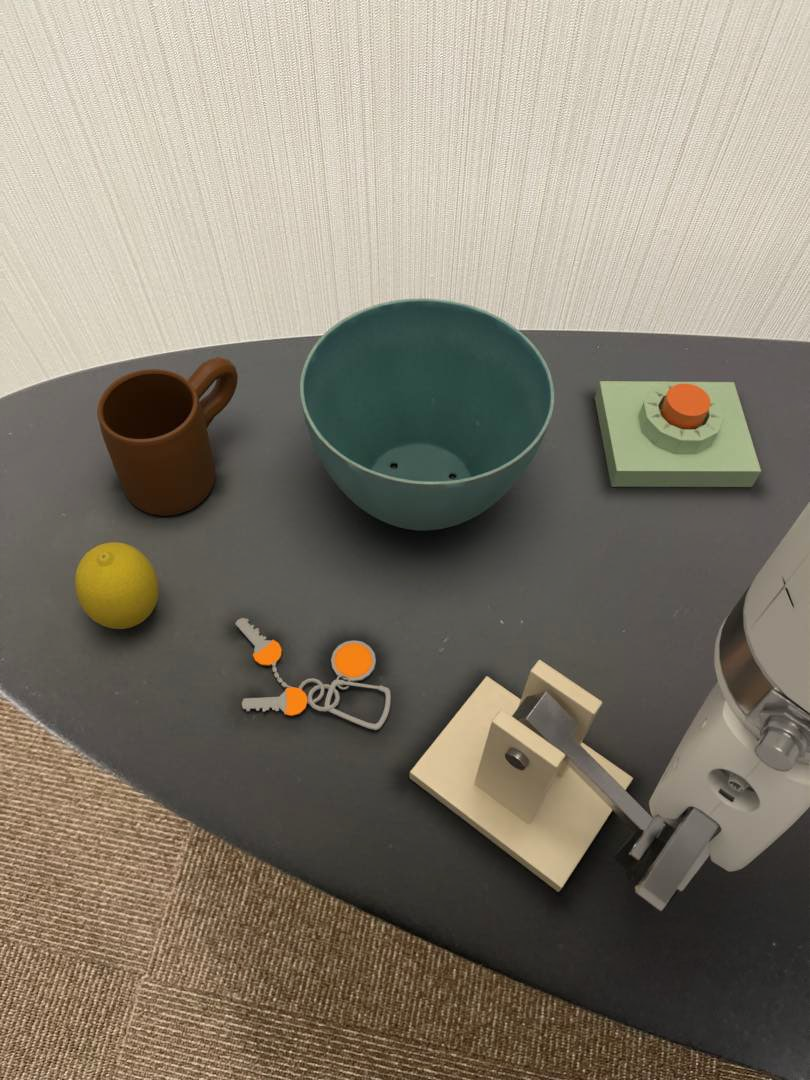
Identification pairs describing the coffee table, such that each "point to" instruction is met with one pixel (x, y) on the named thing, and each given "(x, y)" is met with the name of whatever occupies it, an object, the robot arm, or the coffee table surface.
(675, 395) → the button
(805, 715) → the robot arm
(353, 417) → the plant pot
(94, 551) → the lemon
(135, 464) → the mug
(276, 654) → the key chain
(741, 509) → the coffee table surface
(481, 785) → the bracket
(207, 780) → the coffee table surface
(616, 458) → the button block
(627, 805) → the lever
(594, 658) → the coffee table surface
